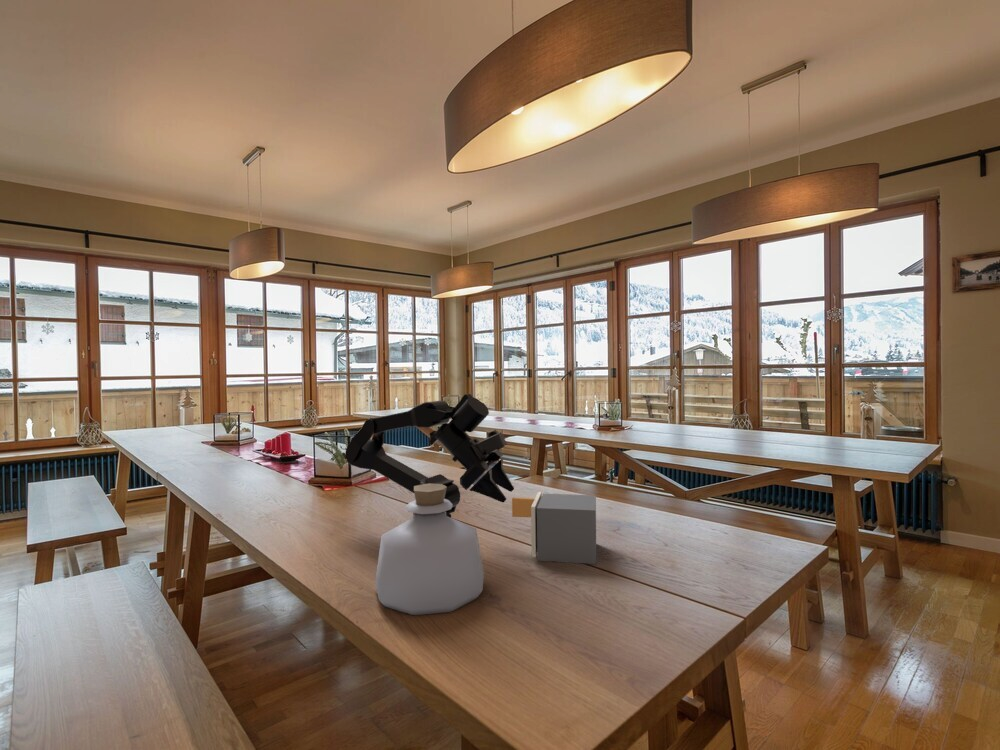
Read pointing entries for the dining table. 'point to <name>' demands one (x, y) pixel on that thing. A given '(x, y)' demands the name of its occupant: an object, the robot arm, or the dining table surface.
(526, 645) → the dining table surface
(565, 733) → the dining table surface
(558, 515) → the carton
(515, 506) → the white drawer unit
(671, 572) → the dining table surface
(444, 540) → the bottle
